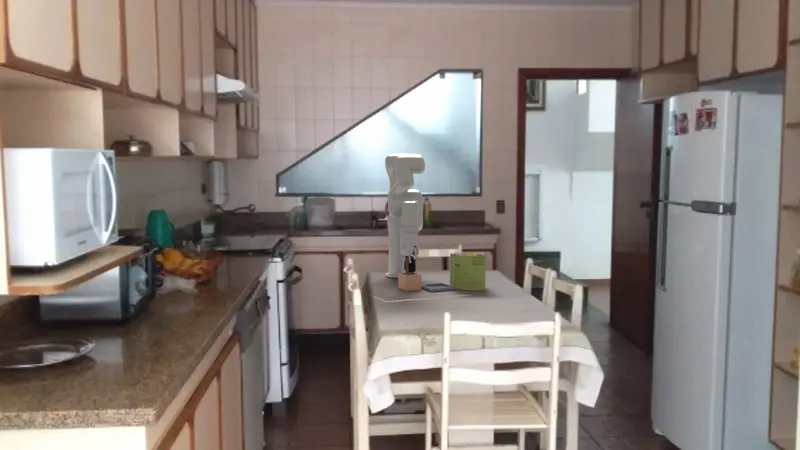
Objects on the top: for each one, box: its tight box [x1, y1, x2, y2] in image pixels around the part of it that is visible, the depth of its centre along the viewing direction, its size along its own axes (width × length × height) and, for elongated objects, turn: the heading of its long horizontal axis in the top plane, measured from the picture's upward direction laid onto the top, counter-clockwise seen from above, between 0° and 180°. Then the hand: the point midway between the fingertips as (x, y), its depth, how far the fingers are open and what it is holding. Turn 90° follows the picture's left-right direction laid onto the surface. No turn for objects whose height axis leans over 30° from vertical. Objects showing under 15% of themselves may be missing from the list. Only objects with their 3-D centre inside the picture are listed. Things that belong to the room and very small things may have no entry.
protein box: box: [449, 252, 487, 291], centre depth 325 cm, size 10×15×16 cm
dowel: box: [406, 256, 414, 275], centre depth 319 cm, size 4×4×14 cm
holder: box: [397, 271, 422, 292], centre depth 319 cm, size 8×8×8 cm
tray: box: [421, 282, 457, 293], centre depth 319 cm, size 12×12×2 cm
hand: (409, 270), depth 319 cm, fingers closed on dowel, 3 cm apart
